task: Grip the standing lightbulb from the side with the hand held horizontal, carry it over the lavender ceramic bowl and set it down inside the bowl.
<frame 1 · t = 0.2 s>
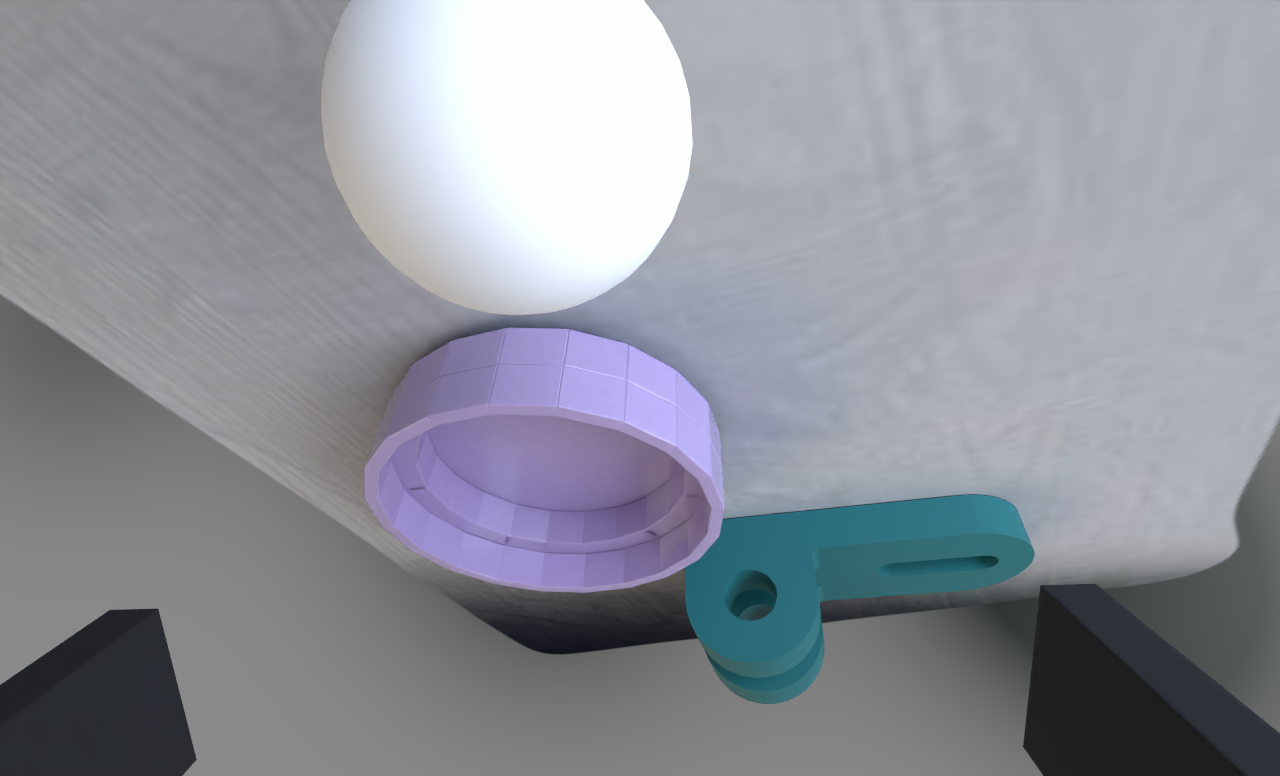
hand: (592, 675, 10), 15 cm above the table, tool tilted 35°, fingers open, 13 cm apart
bowl: (558, 435, 31), on the table
bracket: (847, 533, 37), on the table
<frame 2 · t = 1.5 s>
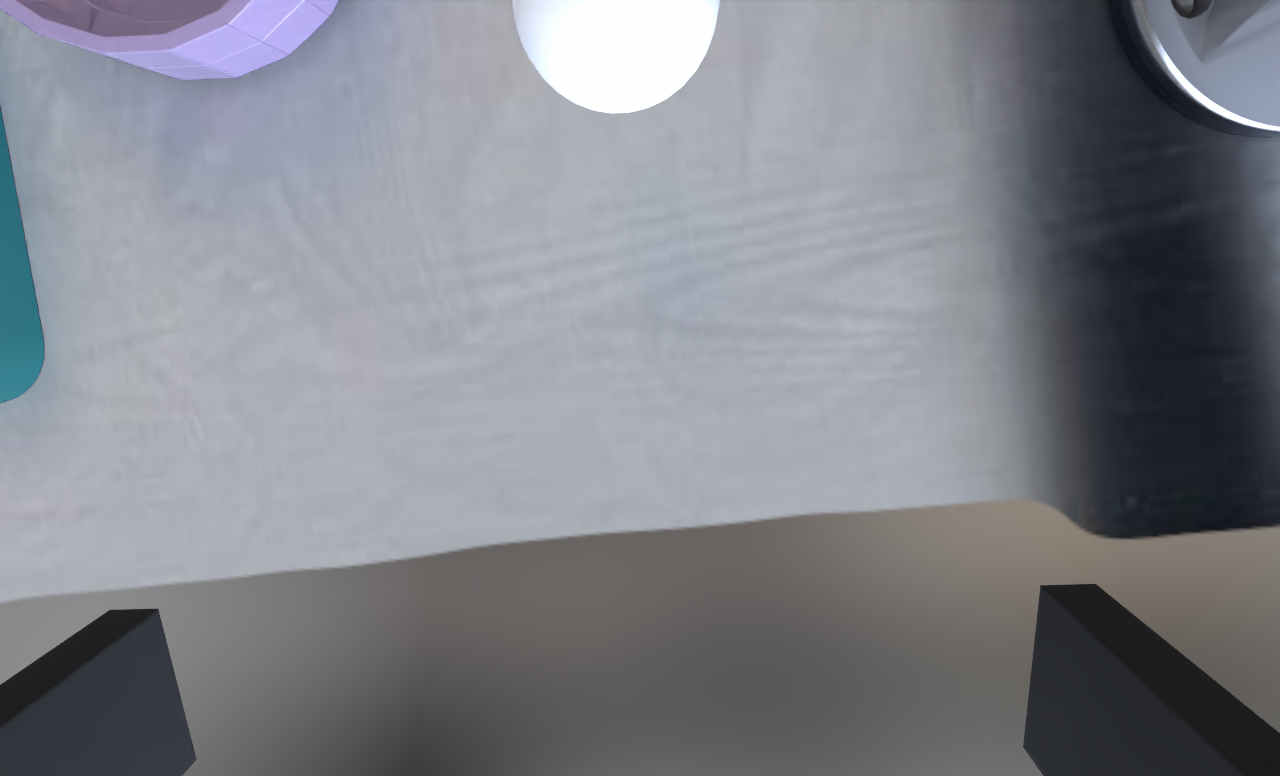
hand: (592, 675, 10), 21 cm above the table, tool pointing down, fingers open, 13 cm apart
lightbulb: (628, 71, 27), on the table
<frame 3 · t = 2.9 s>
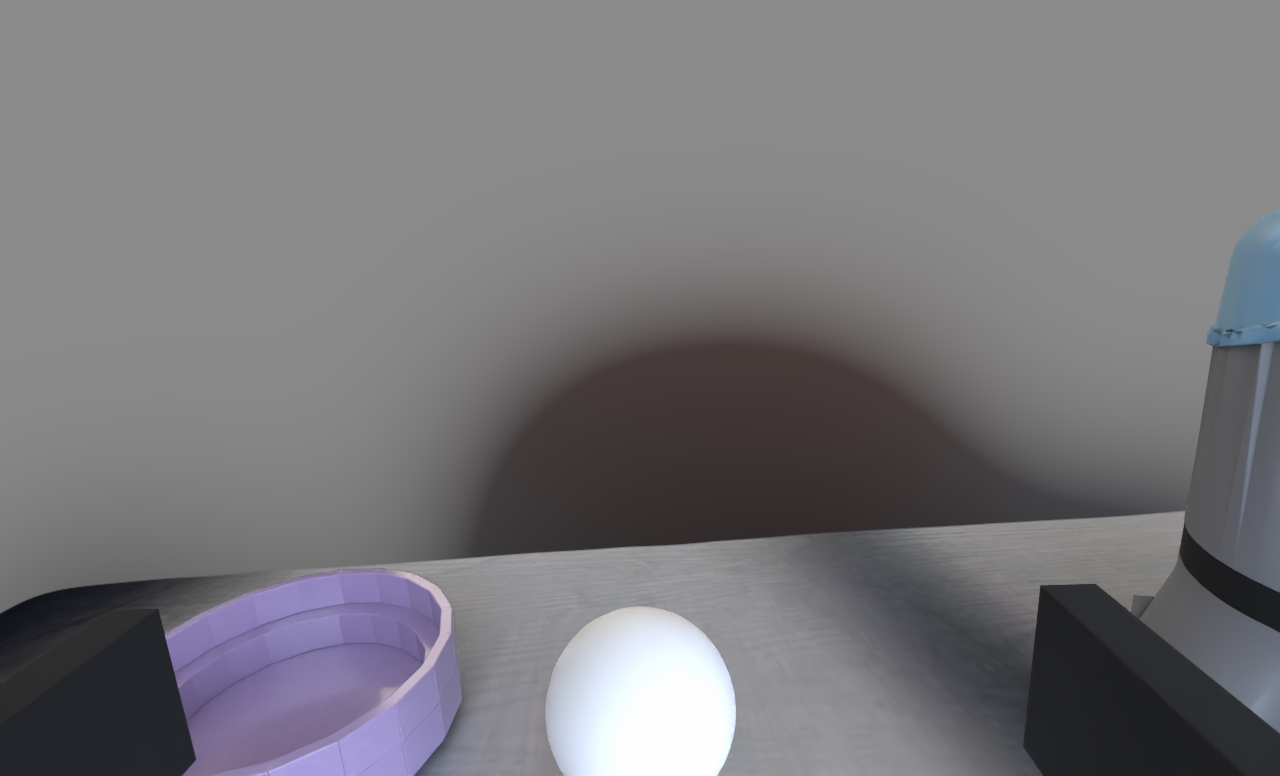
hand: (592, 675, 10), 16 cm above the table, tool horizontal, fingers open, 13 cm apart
bowl: (304, 731, 31), on the table
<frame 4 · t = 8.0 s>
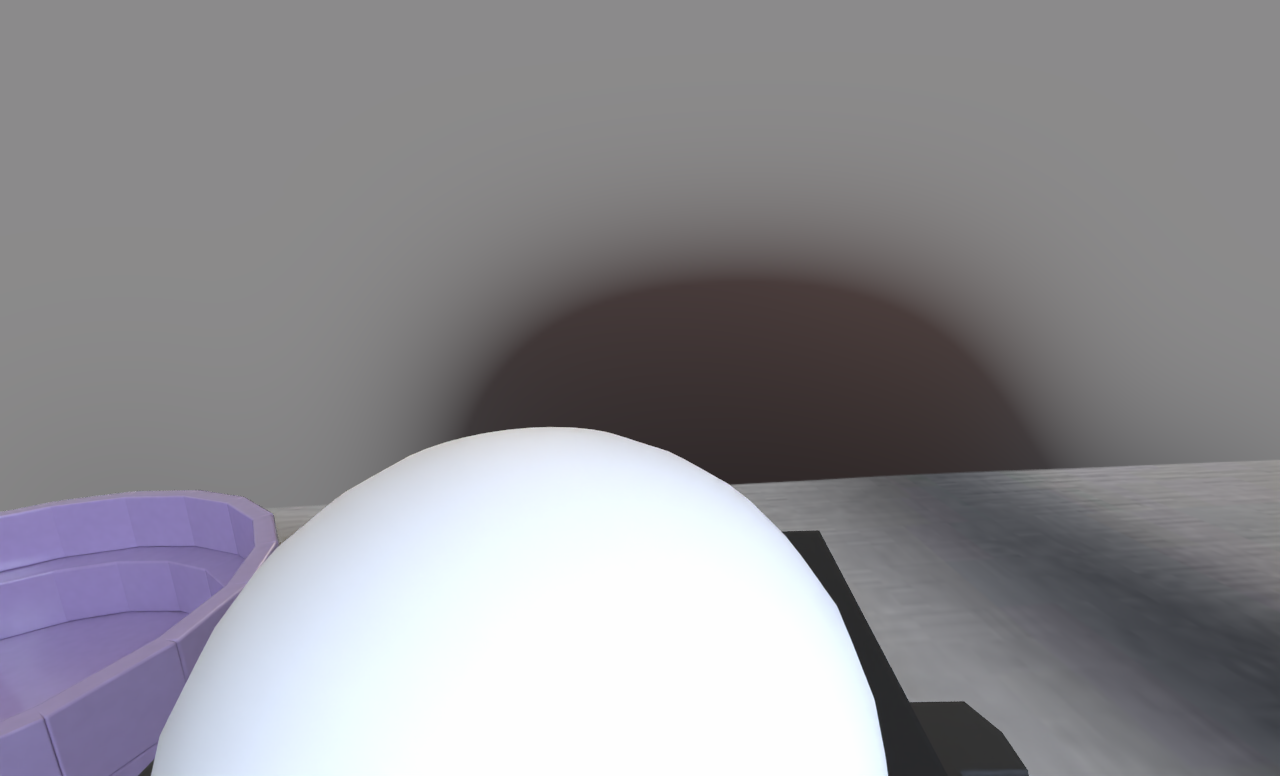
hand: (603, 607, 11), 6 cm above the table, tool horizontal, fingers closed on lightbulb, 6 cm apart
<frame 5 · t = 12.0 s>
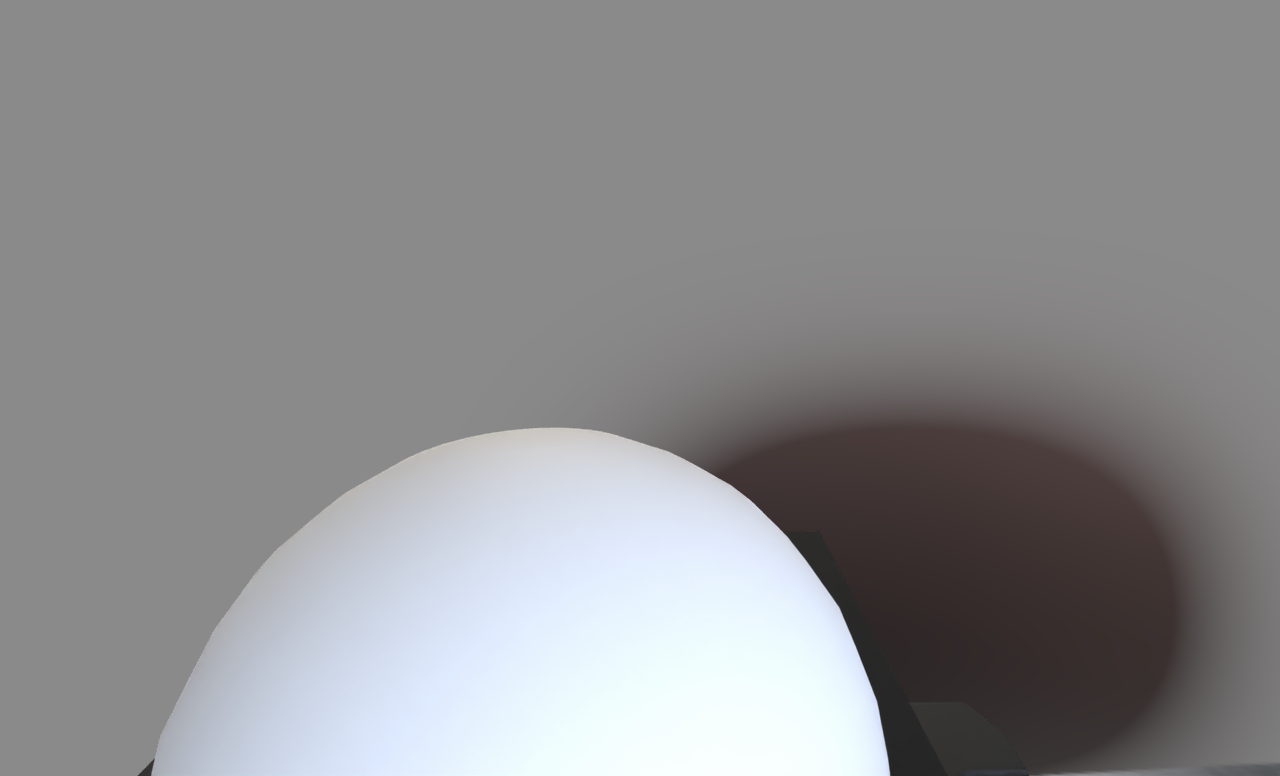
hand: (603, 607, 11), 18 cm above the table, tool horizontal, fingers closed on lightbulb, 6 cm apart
when the fingers open (7 cm above the table, at t = 16.1 s): lightbulb stays where it is, resting on bowl.
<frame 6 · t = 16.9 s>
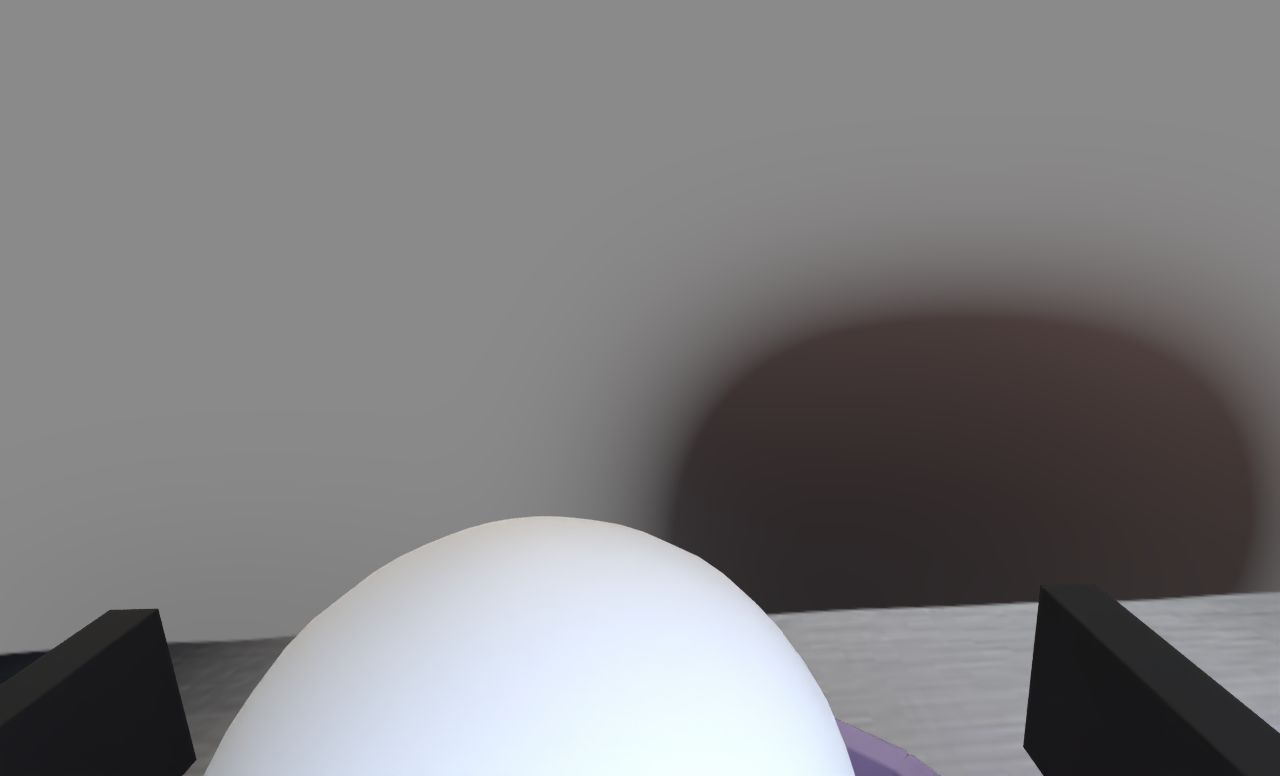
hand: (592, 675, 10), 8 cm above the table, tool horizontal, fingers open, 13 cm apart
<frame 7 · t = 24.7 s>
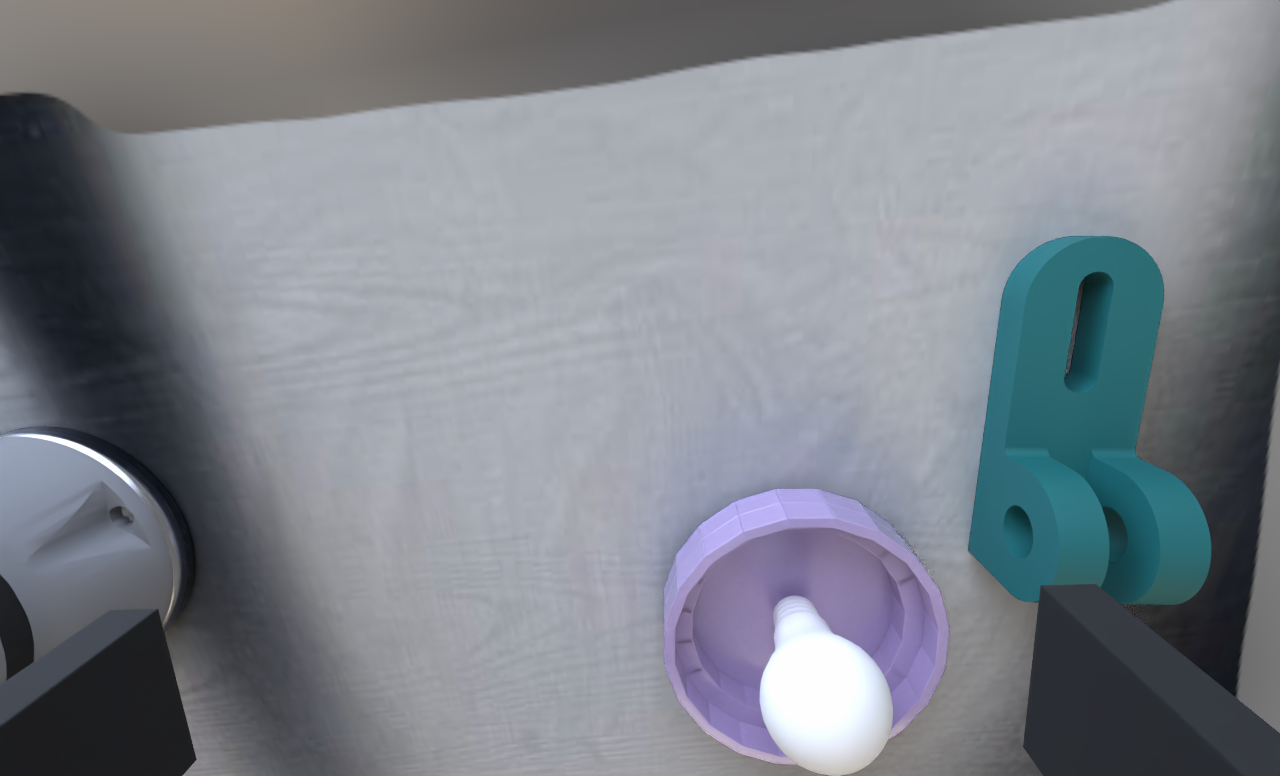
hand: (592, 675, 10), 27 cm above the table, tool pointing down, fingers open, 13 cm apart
bowl: (789, 601, 39), on the table
lightbulb: (791, 604, 38), resting on bowl
bracket: (1047, 402, 36), on the table
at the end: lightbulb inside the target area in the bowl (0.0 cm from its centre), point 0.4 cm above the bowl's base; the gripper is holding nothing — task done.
